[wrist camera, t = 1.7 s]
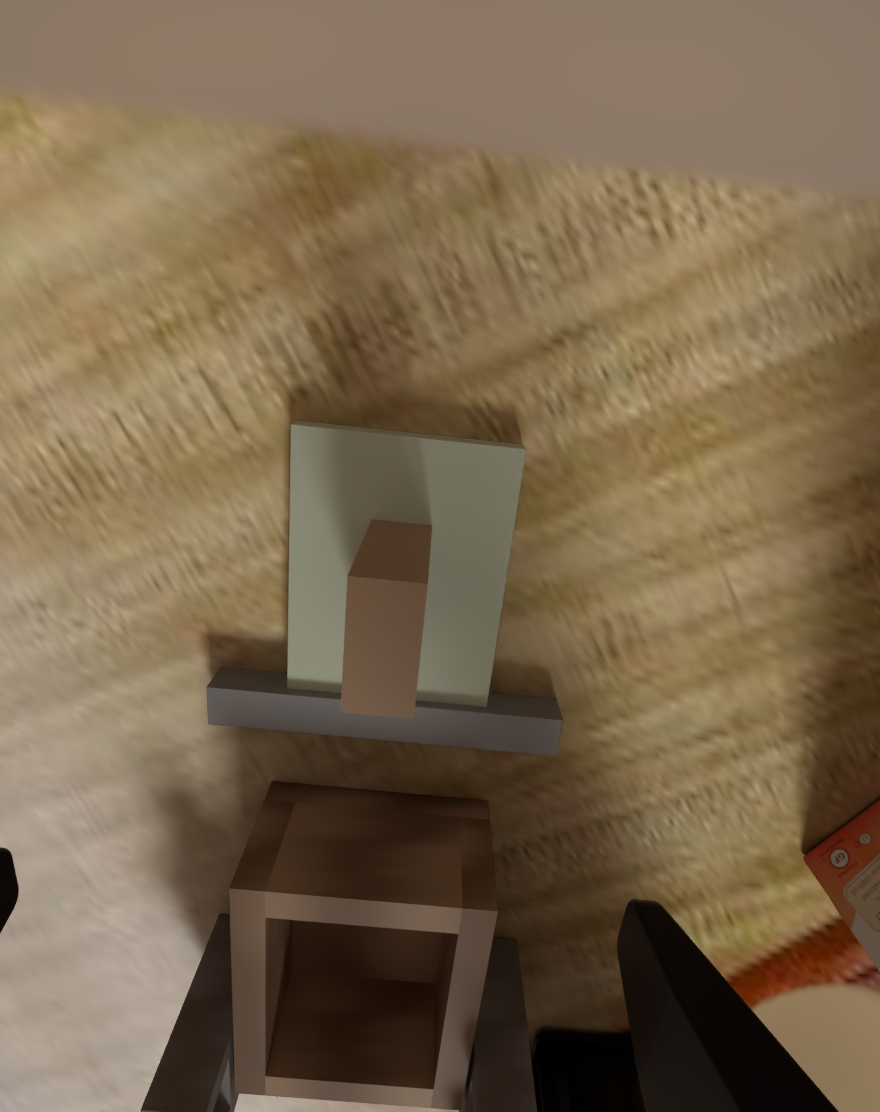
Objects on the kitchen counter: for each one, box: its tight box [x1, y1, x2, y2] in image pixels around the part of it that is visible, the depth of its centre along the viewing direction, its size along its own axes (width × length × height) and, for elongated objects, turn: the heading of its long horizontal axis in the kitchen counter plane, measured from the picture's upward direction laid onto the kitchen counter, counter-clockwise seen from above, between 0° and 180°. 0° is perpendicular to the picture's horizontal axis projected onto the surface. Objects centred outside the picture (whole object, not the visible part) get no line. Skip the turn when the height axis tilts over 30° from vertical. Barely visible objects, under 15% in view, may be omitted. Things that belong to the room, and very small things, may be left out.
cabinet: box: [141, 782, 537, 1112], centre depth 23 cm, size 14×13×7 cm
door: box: [207, 421, 563, 756], centre depth 18 cm, size 13×11×6 cm
